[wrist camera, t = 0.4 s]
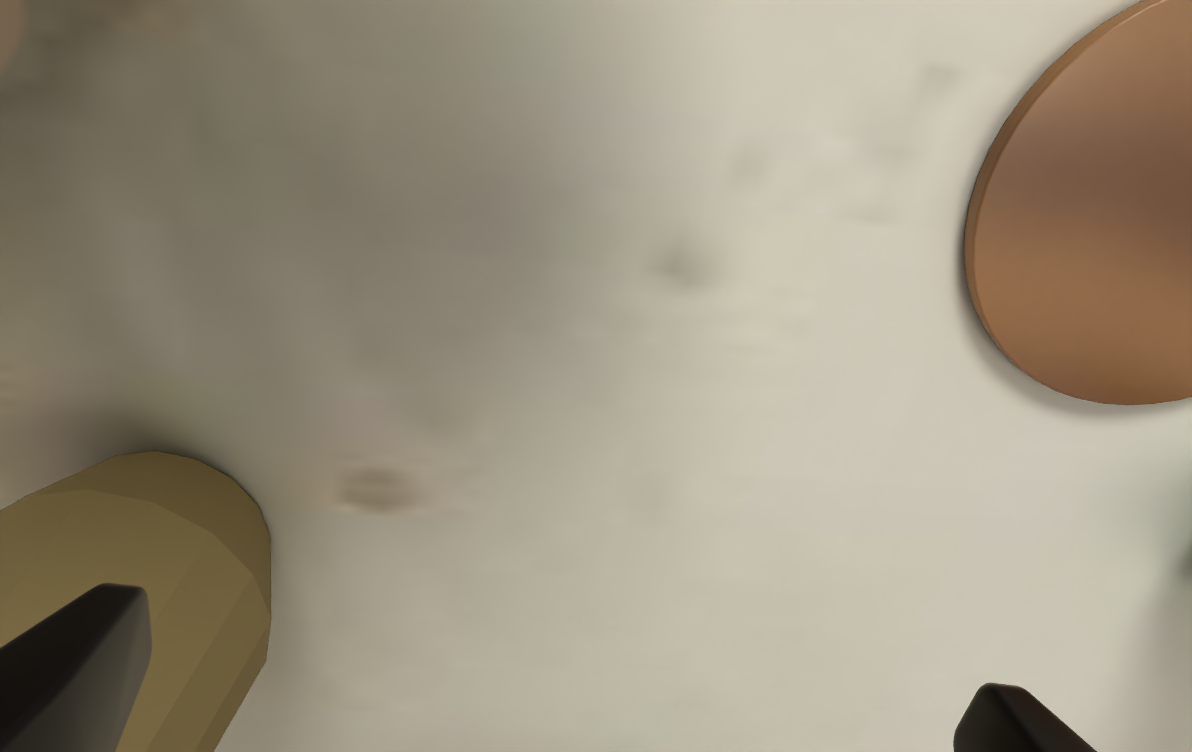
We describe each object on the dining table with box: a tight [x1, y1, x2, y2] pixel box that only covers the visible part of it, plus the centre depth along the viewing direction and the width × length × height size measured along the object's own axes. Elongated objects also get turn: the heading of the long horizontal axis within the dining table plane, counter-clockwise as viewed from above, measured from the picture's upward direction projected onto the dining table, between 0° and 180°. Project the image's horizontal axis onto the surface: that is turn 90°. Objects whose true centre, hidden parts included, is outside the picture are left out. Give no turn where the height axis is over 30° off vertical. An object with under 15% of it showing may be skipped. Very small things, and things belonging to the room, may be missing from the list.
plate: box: [964, 0, 1192, 405], centre depth 22 cm, size 11×11×1 cm
